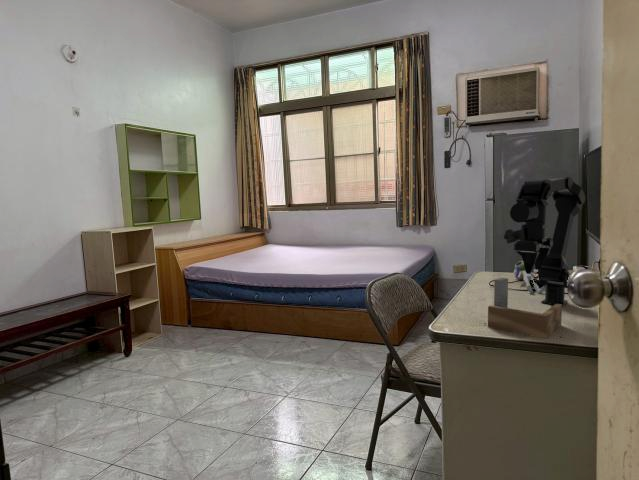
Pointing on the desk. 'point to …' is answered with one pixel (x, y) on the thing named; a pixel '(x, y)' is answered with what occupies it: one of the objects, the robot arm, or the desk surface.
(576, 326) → the desk surface
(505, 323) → the walls
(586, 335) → the desk surface
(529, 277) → the toy
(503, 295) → the bracket
